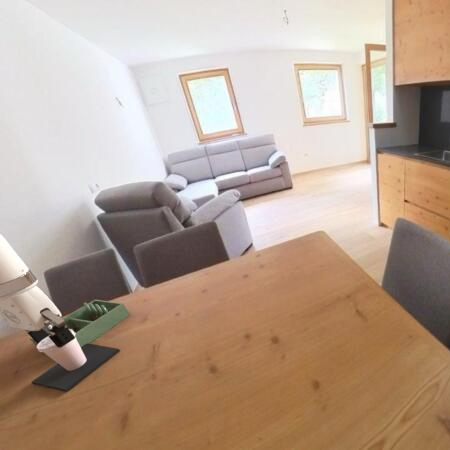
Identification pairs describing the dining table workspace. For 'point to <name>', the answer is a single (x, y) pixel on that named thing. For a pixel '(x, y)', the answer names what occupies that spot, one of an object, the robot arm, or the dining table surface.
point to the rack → (98, 327)
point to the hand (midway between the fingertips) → (56, 340)
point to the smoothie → (63, 352)
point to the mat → (68, 379)
